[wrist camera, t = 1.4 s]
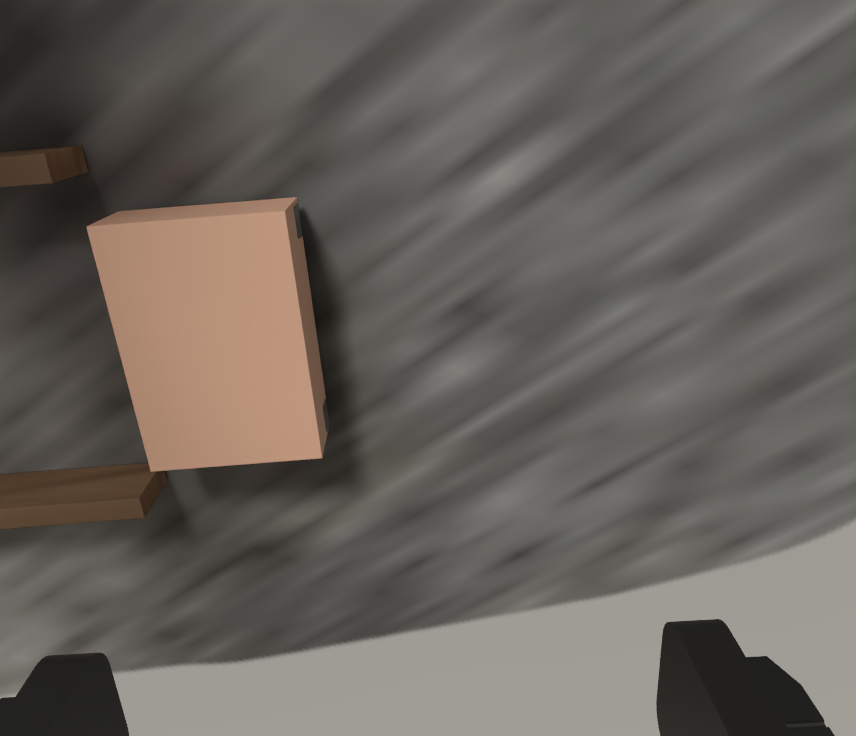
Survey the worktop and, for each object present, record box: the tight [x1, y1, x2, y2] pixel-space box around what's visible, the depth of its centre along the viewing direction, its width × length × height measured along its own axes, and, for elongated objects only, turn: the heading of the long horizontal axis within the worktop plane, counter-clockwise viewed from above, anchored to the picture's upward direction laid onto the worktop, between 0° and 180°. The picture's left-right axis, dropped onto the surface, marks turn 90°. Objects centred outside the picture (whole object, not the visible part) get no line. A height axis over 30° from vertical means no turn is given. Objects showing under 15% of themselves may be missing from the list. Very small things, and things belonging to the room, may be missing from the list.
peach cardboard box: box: [86, 197, 330, 472], centre depth 28 cm, size 10×7×4 cm
